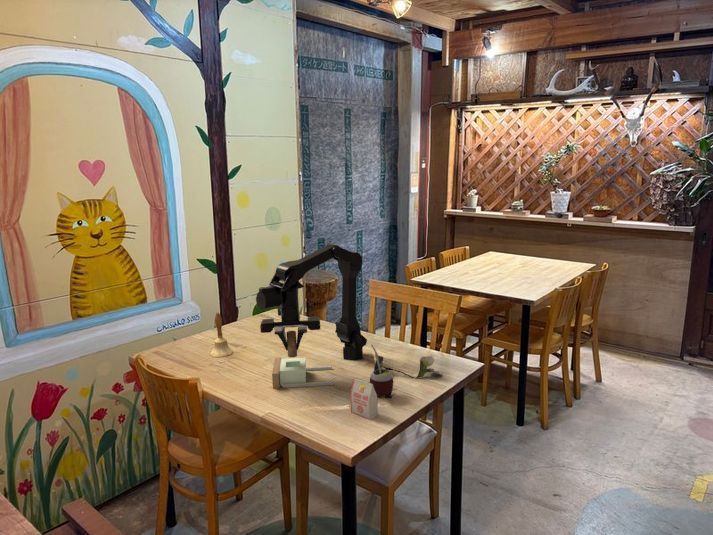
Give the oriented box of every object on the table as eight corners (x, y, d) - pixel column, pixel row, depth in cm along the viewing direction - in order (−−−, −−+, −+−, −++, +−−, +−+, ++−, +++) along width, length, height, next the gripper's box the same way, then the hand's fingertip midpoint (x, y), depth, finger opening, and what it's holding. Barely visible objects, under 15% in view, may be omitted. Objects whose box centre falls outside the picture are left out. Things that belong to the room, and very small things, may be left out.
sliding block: (306, 371, 174) (305, 357, 173) (305, 384, 164) (304, 369, 163) (282, 372, 173) (281, 358, 172) (280, 385, 163) (279, 371, 162)
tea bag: (359, 407, 150) (358, 375, 148) (377, 414, 146) (376, 381, 144) (350, 412, 148) (349, 380, 145) (369, 419, 143) (368, 386, 141)
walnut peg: (297, 353, 168) (296, 330, 167) (297, 357, 165) (295, 333, 164) (288, 354, 168) (286, 330, 166) (287, 357, 165) (286, 334, 163)
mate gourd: (389, 403, 152) (388, 355, 149) (364, 400, 155) (363, 353, 152) (396, 392, 159) (396, 346, 156) (372, 389, 162) (371, 344, 159)
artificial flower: (377, 372, 178) (382, 343, 178) (442, 386, 172) (447, 357, 172) (371, 375, 169) (376, 345, 169) (439, 391, 163) (444, 359, 163)
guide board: (335, 371, 176) (334, 354, 175) (336, 387, 163) (336, 370, 162) (276, 374, 175) (275, 357, 173) (273, 391, 162) (272, 373, 161)
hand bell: (225, 358, 190) (221, 317, 186) (205, 356, 192) (201, 315, 189) (237, 350, 197) (233, 310, 194) (218, 348, 200) (214, 308, 197)
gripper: (318, 295, 171) (320, 339, 175) (262, 297, 170) (265, 342, 174) (319, 304, 161) (321, 351, 164) (258, 307, 159) (262, 355, 163)
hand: (292, 349), depth 166 cm, fingers closed on walnut peg, 3 cm apart
